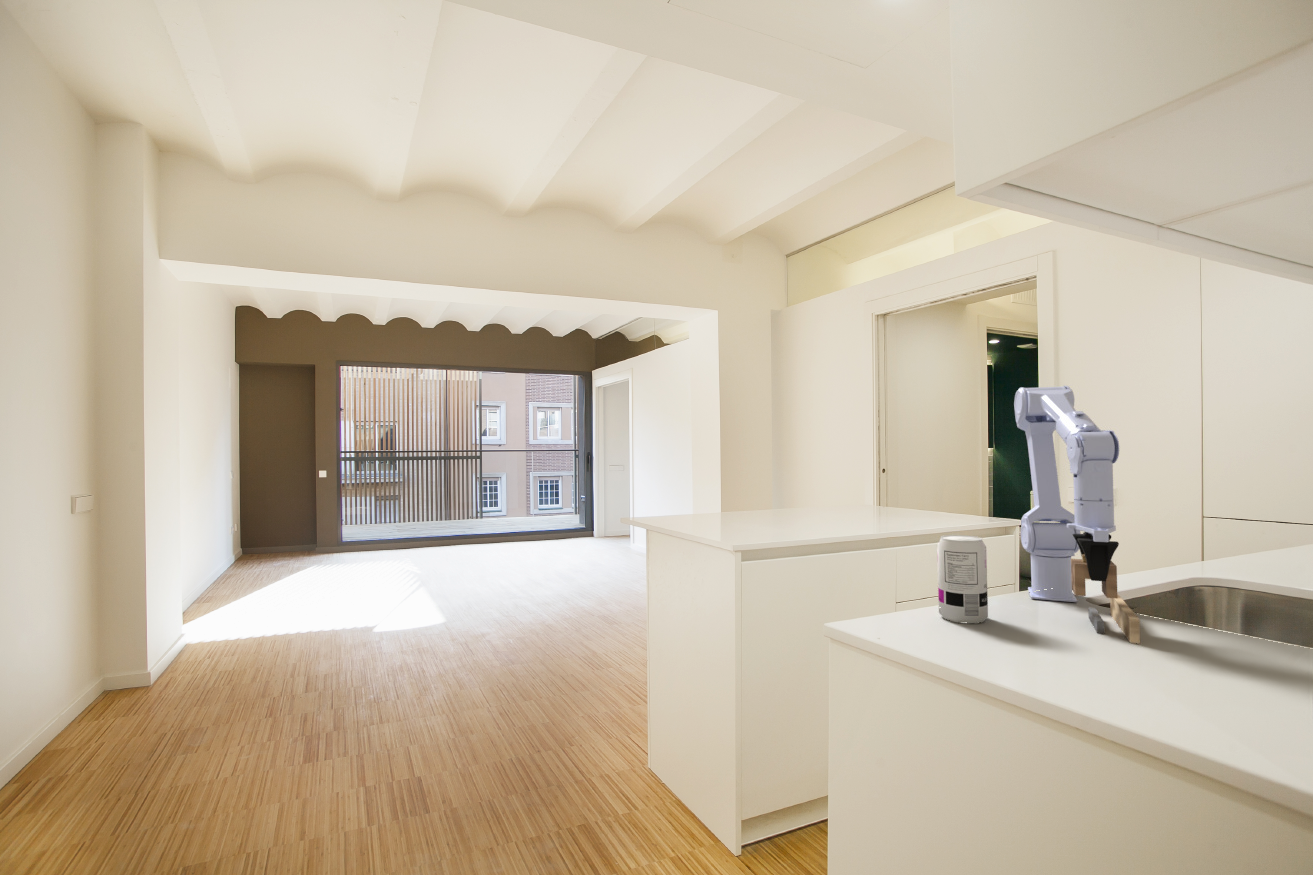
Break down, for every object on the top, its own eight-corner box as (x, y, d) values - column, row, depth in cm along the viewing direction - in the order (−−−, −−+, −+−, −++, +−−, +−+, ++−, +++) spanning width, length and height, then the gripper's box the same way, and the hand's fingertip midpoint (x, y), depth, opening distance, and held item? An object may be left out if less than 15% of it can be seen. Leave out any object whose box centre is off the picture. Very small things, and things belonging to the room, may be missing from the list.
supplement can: (929, 614, 119) (927, 536, 119) (964, 610, 122) (962, 533, 122) (962, 626, 112) (959, 542, 112) (998, 621, 114) (996, 539, 114)
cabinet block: (1071, 588, 113) (1070, 551, 113) (1112, 591, 111) (1111, 554, 111) (1075, 595, 109) (1074, 556, 109) (1117, 598, 106) (1116, 558, 106)
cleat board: (1085, 612, 119) (1084, 591, 119) (1118, 615, 116) (1117, 593, 116) (1101, 639, 103) (1100, 615, 103) (1139, 643, 100) (1139, 618, 100)
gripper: (1061, 495, 118) (1063, 567, 118) (1071, 503, 105) (1073, 583, 105) (1107, 496, 115) (1109, 570, 115) (1123, 504, 102) (1125, 587, 102)
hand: (1095, 577), depth 110 cm, fingers closed on cabinet block, 5 cm apart
